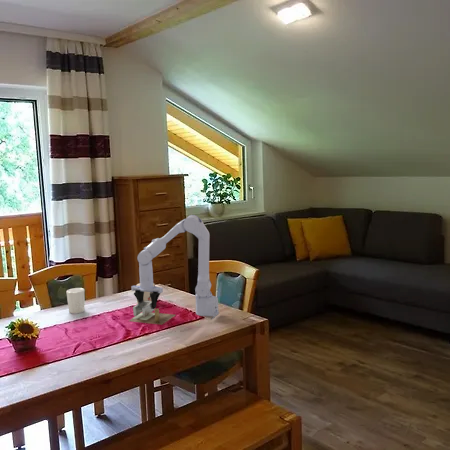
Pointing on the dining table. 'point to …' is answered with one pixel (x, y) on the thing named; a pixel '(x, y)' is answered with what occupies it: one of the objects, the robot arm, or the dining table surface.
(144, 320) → the board
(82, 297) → the white cup
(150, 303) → the c link
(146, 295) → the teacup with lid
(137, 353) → the dining table surface
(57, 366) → the dining table surface
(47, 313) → the dining table surface
